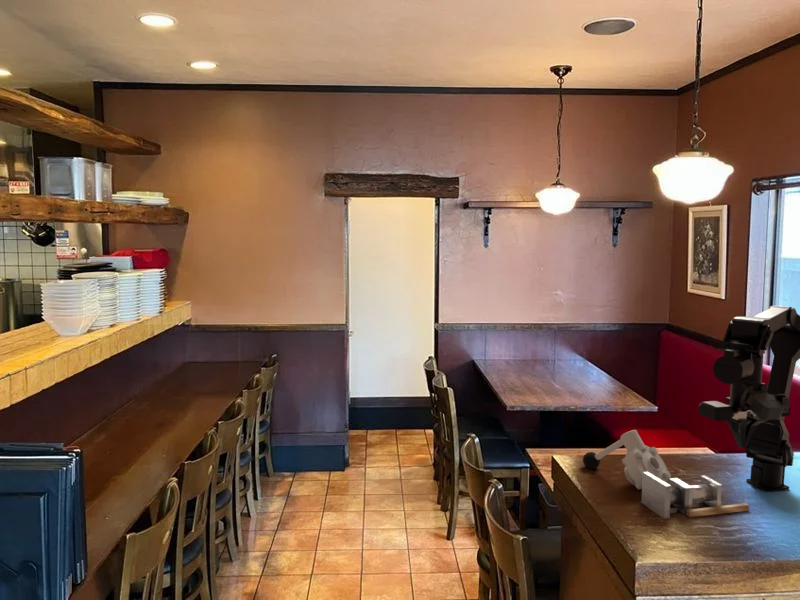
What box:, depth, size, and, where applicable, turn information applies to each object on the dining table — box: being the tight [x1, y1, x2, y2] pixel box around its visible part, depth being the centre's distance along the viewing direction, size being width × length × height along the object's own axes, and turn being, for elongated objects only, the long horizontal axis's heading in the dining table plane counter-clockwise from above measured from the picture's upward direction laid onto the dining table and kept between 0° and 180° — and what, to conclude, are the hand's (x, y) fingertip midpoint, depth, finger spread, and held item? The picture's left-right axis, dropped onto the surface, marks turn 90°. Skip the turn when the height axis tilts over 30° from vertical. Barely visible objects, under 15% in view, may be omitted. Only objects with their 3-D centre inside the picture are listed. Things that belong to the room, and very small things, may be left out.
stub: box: [640, 472, 690, 520], centre depth 138 cm, size 7×8×7 cm
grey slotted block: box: [672, 474, 723, 509], centre depth 140 cm, size 8×6×6 cm
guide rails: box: [686, 493, 750, 518], centre depth 141 cm, size 14×9×1 cm, turn 103°
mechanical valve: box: [582, 429, 672, 490], centre depth 155 cm, size 10×18×15 cm
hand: (741, 447), depth 139 cm, fingers closed
